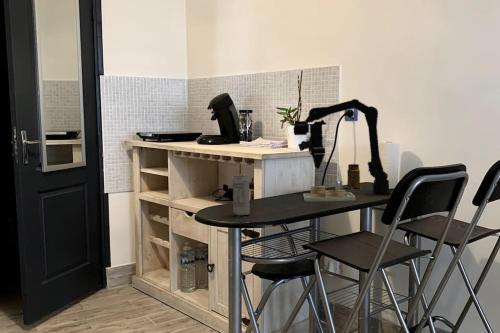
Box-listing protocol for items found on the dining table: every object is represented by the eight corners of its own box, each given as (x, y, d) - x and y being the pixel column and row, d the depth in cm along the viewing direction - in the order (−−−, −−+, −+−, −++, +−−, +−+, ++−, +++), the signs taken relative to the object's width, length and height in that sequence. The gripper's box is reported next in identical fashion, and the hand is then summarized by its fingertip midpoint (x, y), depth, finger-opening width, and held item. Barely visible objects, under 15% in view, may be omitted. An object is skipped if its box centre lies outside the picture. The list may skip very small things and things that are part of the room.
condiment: (363, 187, 251) (363, 164, 250) (353, 189, 245) (353, 165, 244) (351, 187, 256) (351, 163, 255) (341, 188, 250) (341, 164, 249)
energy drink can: (253, 214, 185) (252, 174, 184) (242, 217, 181) (240, 176, 180) (241, 213, 189) (240, 173, 188) (230, 215, 185) (228, 175, 184)
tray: (350, 196, 224) (350, 192, 224) (355, 201, 210) (355, 196, 210) (303, 197, 225) (303, 193, 225) (304, 202, 211) (304, 197, 211)
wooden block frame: (344, 195, 222) (344, 184, 221) (347, 198, 213) (346, 187, 212) (310, 196, 223) (310, 185, 222) (311, 199, 214) (311, 188, 213)
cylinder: (341, 193, 233) (341, 180, 232) (342, 194, 230) (342, 181, 229) (335, 193, 233) (335, 181, 232) (335, 194, 230) (335, 181, 229)
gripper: (297, 134, 244) (298, 166, 245) (300, 135, 225) (300, 170, 227) (320, 134, 243) (321, 166, 245) (324, 135, 225) (325, 169, 226)
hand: (316, 167), depth 236 cm, fingers open, 9 cm apart
